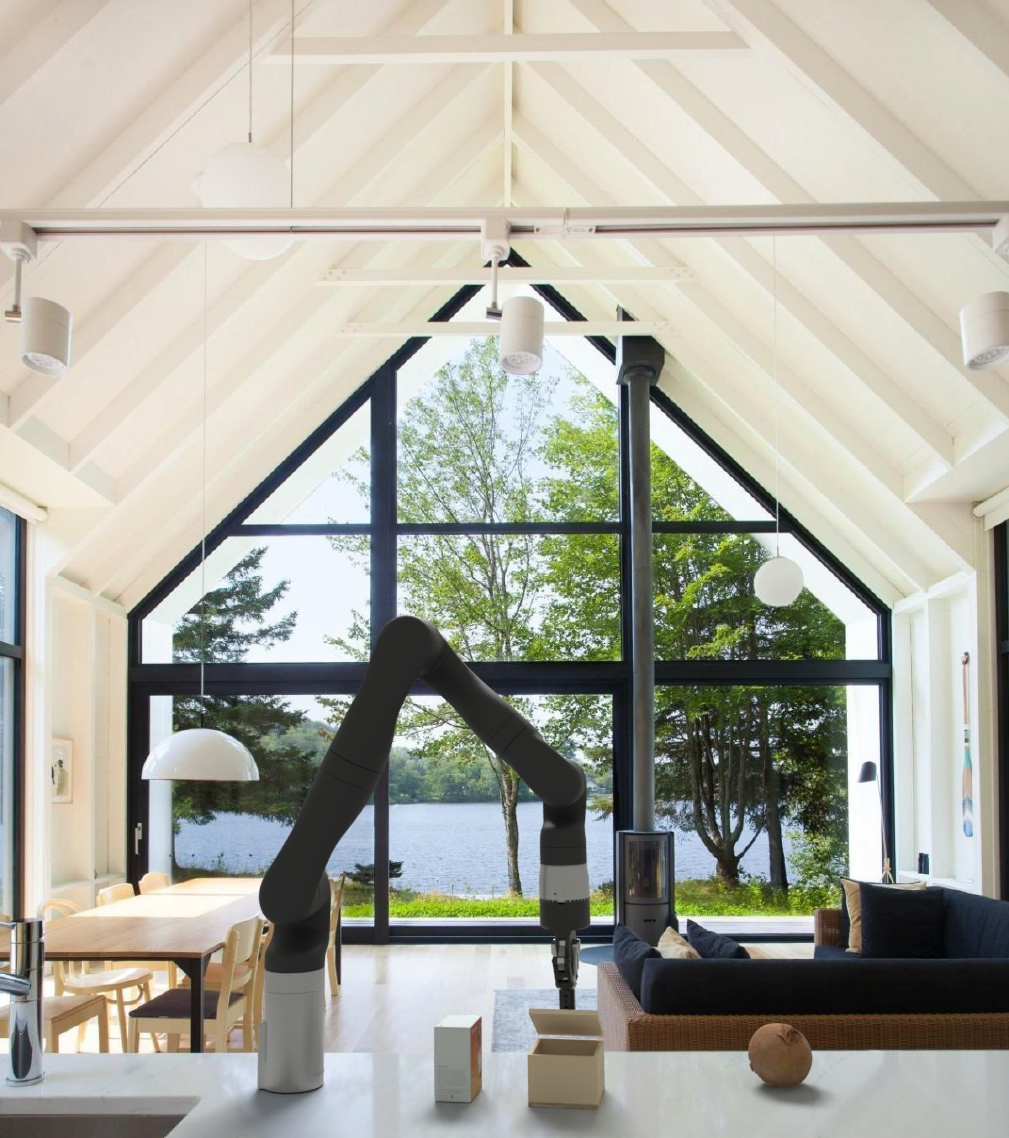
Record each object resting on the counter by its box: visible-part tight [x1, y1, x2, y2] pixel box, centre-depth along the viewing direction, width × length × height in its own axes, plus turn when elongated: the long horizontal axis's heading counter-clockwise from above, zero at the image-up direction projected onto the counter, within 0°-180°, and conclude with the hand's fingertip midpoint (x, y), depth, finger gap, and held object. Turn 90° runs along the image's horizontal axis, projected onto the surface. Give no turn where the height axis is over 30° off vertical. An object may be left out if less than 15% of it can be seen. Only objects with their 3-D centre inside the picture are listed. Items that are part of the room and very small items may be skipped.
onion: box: [747, 1022, 813, 1089], centre depth 180 cm, size 10×9×10 cm
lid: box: [528, 1008, 605, 1038], centre depth 176 cm, size 10×10×1 cm
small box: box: [433, 1014, 483, 1103], centre depth 177 cm, size 8×6×10 cm
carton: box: [527, 1036, 606, 1110], centre depth 175 cm, size 10×10×7 cm
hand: (567, 1015), depth 176 cm, fingers closed
